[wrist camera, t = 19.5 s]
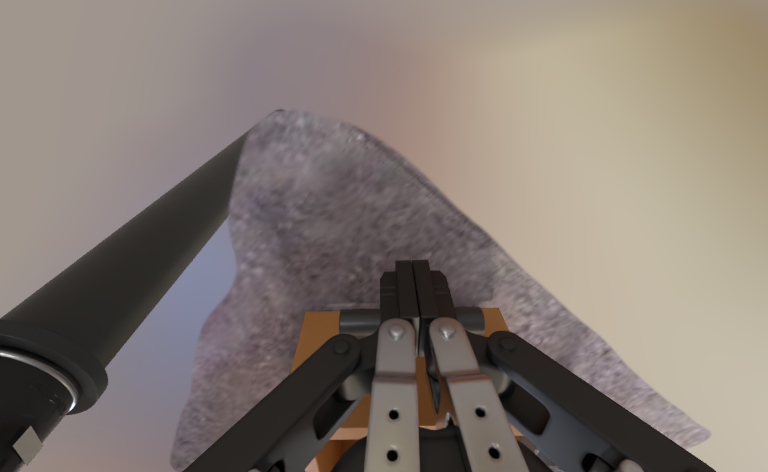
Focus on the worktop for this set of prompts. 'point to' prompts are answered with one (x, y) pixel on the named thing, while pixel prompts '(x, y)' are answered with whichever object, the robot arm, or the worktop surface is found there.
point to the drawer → (356, 425)
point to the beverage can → (555, 470)
